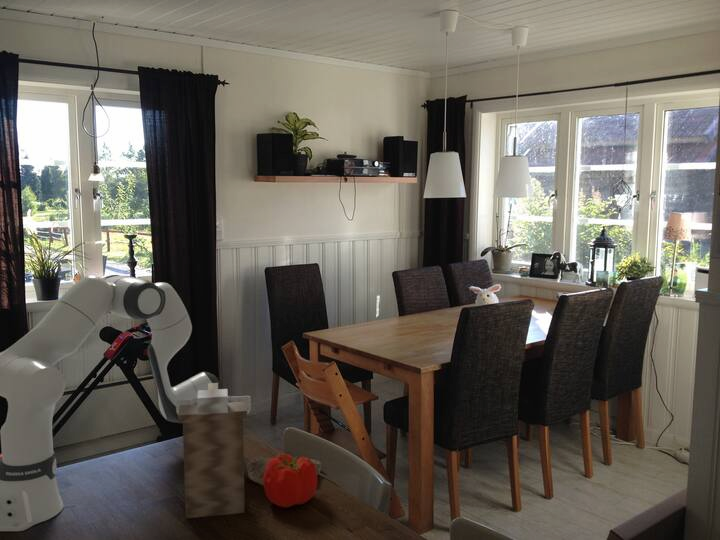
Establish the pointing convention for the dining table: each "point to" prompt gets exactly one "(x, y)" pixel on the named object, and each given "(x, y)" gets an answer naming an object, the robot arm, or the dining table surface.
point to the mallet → (212, 400)
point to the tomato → (289, 480)
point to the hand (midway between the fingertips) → (213, 400)
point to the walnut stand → (213, 460)
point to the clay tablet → (259, 466)
